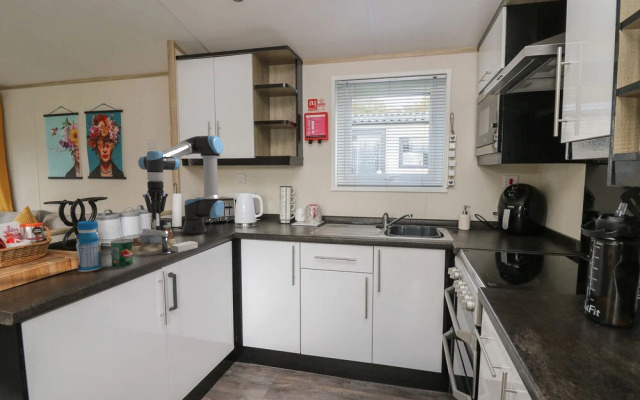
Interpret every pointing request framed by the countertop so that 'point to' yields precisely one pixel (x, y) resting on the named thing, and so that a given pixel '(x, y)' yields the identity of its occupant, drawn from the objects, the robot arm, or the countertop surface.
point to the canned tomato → (121, 253)
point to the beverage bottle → (88, 246)
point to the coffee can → (162, 224)
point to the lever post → (164, 247)
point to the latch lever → (155, 232)
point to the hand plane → (145, 248)
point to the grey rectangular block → (150, 239)
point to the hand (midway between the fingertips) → (156, 225)
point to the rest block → (184, 246)
